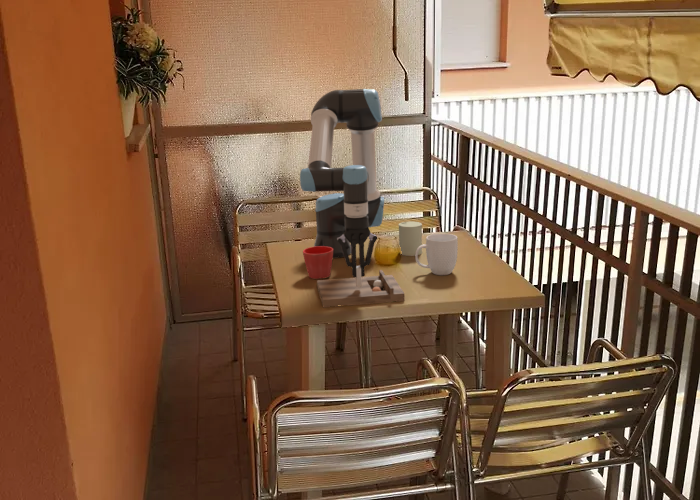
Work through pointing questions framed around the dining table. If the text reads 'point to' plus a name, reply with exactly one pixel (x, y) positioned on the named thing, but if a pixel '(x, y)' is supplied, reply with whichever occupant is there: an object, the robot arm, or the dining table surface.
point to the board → (359, 291)
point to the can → (410, 237)
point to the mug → (440, 253)
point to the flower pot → (318, 261)
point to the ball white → (378, 284)
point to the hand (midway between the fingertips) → (358, 286)
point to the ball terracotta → (376, 289)
